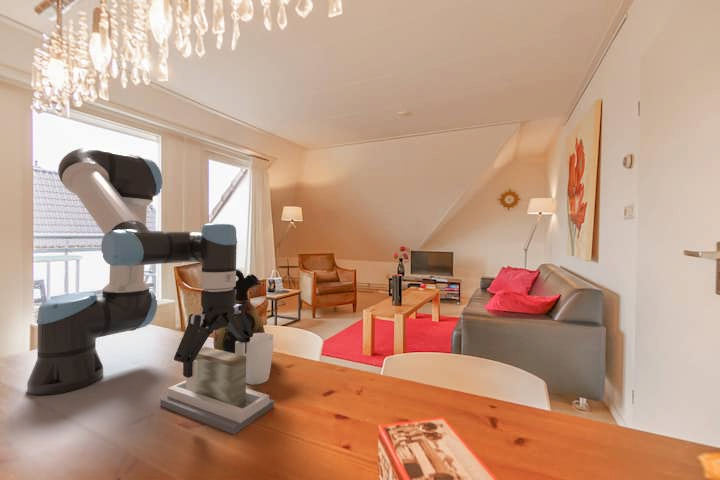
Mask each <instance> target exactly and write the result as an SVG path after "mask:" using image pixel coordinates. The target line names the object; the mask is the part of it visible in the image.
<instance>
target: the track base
mask: <svg viewBox="0 0 720 480" xmlns="http://www.w3.org/2000/svg"><path fill="white" fill-rule="evenodd" d="M166 394H167V396H165V397H163V398H160V401H159V402H160V404H159V405H160V407H163V408H165V409H167V410H169V411H172V412H175V413H178V414H181V415H183V416H185V417H187V418H190V419H193V420H195V421H199V422H200V423H203V424H206V425H208V426H211V427H214V428H216V429H219V430H221V431H224V432H226V433H228V434H232V435H235V434H237V433H238V432H240V431H241V430H242V429H243V430H244V428H245V427H247V426H248V425H250V424H251V423H253V422H255V421H256V420H257V419H258V418H260V417H262V416H263V415H264V414H266V413H267V412H269V411H270V410H271V409H273V408H274V407H275V400H273V399H271V398H270V394H268V393H267V394H266V393H263V392H260V391H256V390H253V389H249V388H247V387H246V403H245V404H244V405H242V406H240V407H236V406H233V405H230V404H227V403H224V402H221V401H218V400H215V399H213V398H210V397H207V396H204V395H201V394H198V393H195V392H192V391H189V390H186V379H185V380H183V381H181V382H179V383H177V384H174V385H171V386H169V387H167V393H166Z"/></svg>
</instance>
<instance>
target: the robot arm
mask: <svg viewBox="0 0 720 480" xmlns="http://www.w3.org/2000/svg"><path fill="white" fill-rule="evenodd" d="M57 169H58V170H57V172H58V173H57V174H58V177H59V180H60V182H61V183H62V185H63V186H64V188H65V189H66V190H68V191H69V192H70V193H73V194H74V195H76V196H77V198H78V199H79V200H80V202H81V203H82V205H83V206H84V208H85V209H86V210H87V212H88V213H89V214H90V216H91V218H92V219H93V220H94V221H95V223H96V225H97V226H98V227H99V229H100V230H101V232H102V233H103V237H102V239H101V248H100V249H101V253H102V258H103V259H104V261H105V263H107V264H108V265H109V279H108V280H109V282H108V284H106V286H104V287H103V288H102V295H101V296H97V294H96V293H94V292H81V293H72V294H67V295H63V296H62V295H61V296H58V297H53V298H51V299H48V300H46V301H44V302H43V303H40V304H41V305H39V307H38V313H37V318H36V323H37V346H36V347H37V351H36V352H37V355H36V356H37V359H36V361H35V363H34V366H33V369H32V371H31V374H30V375H29V378H28V380H27V384H26V385H27V386H26V387H27V388H26V389H27V390H26V391H28V392H27V393H28V394H30V395H35V396H51V395H56V394H62V393H63V394H64V393H67V392H71V391H75V390H78V389H82V388H84V387H87V386H89V385H91V384H93V383H96V382H98V381H100V379H101V378H103V375H104V366H103V363H102V361H101V358H100V356H99V354H98V351H97V349H96V340H97V338H103V337H106V336H110V335H115V334H116V335H117V334H120V333H125V332H130V331H131V332H132V331H136V330H139V329H141V328H144V327H147V326H149V325H150V324H151V322H153V321H154V319H155V317H156V313H157V311H158V310H157V309H158V299H157V295H156V294H155V292H154V291H152V290H150V286H149V285H148V284H147V283H145V265H146V266H147V265H158V264H162V265H163V264H177V263H179V264H180V263H201V272H200V273H201V275H200V276H201V277H200V279H201V281H200V287H201V289H203V290H201V292H200V305H201V306H200V307H202V308H201V309H202V312H201V314H195V313H190V314H189V315H188V321H187V325H186V329H185V331H184V333H183V335H182V338H181V339H180V340H181V341H180V342H179V344H178V347H177V350H176V351H175V355H174V357H173V360H174V361H175V362H178V363H182V367H183V368H182V371H183V372H182V375H183V377H184V378H185V380H186V390H189V391H192V392H196V391H197V374H198V361H196V360H195V358H196V356H197V355H198V353H199V351H200V350H201V348H202V347H204V344H205V343H206V342H207V340H208V338H209V337H210V335H211V334H214V332H215V330H218V329H220V328H225V327H228V329H229V330H230V331H231V332H232V333H233V335H234V336H235V337H236V338H237V339H238V340H239V341H237V342H235V354H238V355H243V356H245V354H246V351H247V342H250V337H253V332H252V330H251V327H250V325H249V322H248V320H247V317H246V315H245V311H244V305H241V304H235V303H236V290H235V289H233V287H235V286H236V281H237V276H236V269H237V251H238V250H237V249H238V248H237V246H238V239H237V228H236V226H235V225H233V224H229V223H204V224H203V225H202V228H201V231H167V230H166V231H165V230H163V231H162V230H149V228H148V227H147V212H148V211H147V208H148V206H149V205H150V204H151V203H152V202H153V200H154V197H156V196H158V195H159V194H160V193H161V189H162V187H163V176H162V173H161V170H160V168H159V166H158V165H157V163H156V162H155V161H153V160H152V159H149V158H145V157H142V156H140V155H134V154H129V153H124V152H119V151H113V150H108V149H104V148H100V147H90V146H89V147H81V148H77V149H74V150H72V151H71V152H69V153H66V155H64V156H63V158H62V159H61V160H60V162H59V164H58V168H57ZM233 305H234V306H233ZM233 314H235V317H236V319H237V322H238V324H239V326H240V327H239V326H238V325H237V324H236V323H237V322H236V321H235V320H234V318H233V317H232V316H233Z"/></svg>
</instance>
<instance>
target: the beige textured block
mask: <svg viewBox="0 0 720 480" xmlns="http://www.w3.org/2000/svg"><path fill="white" fill-rule="evenodd" d="M195 360H196V361H198V374H197V391H196V392H195V393H198V394H201V395H204V396H207V397H210V398H213V399H215V400H218V401H221V402H224V403H227V404H230V405H233V406H236V407H240V406H242V405H244V404H245V403H246V388H247V383H246V356H243V355H238V354H234V353H230V352H226V351H222V350H218V349H214V347H208V346H202V348H201V350H200V351H199V353H198V355H197V356H196V358H195Z"/></svg>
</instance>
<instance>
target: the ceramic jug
mask: <svg viewBox="0 0 720 480" xmlns="http://www.w3.org/2000/svg"><path fill="white" fill-rule="evenodd" d="M244 276H245V275H244V272H242V271H241V270H239V269H237V268H236V278H238V279H236V286H235V287H233V289H235V290H236V303H235V304H241V305H244V311H245V315H246V317H247V320H248V322H249V325H250V327H251V330H252V332H253V333H266V331H265V327H264V323H263V321H262V318H261V316H260V314H259V313H258V311H257V310H256V308H255V306H254V305H253V303H252V302H251V301H250V298H249V296H248V291H249V290H250V289H252V288H254V287H257V286H261V285H262V282H261V281H260V280H259V279H258V277H257V276H256V275H255V274H254V273H253V274H247V275H246V276H245V277H244ZM233 306H234V305H233ZM232 317H233V318H234V320H235V321H236V322H237V319H236V317H235V314H233V316H232ZM236 324H237V325H238V326H239V324H238V322H237V323H236ZM239 327H240V326H239ZM213 334H214V335H213V340H212V341H213V342H212V343H213V349H218V350H222V351H226V352H230V353H234V354H235V342H237V341H239V340H238V339H237V338H236V337H235V336H234V335H233V333H232V332H231V331H230V330H229V329H228V327H225V328H220V329H218V330H214V333H213Z"/></svg>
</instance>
